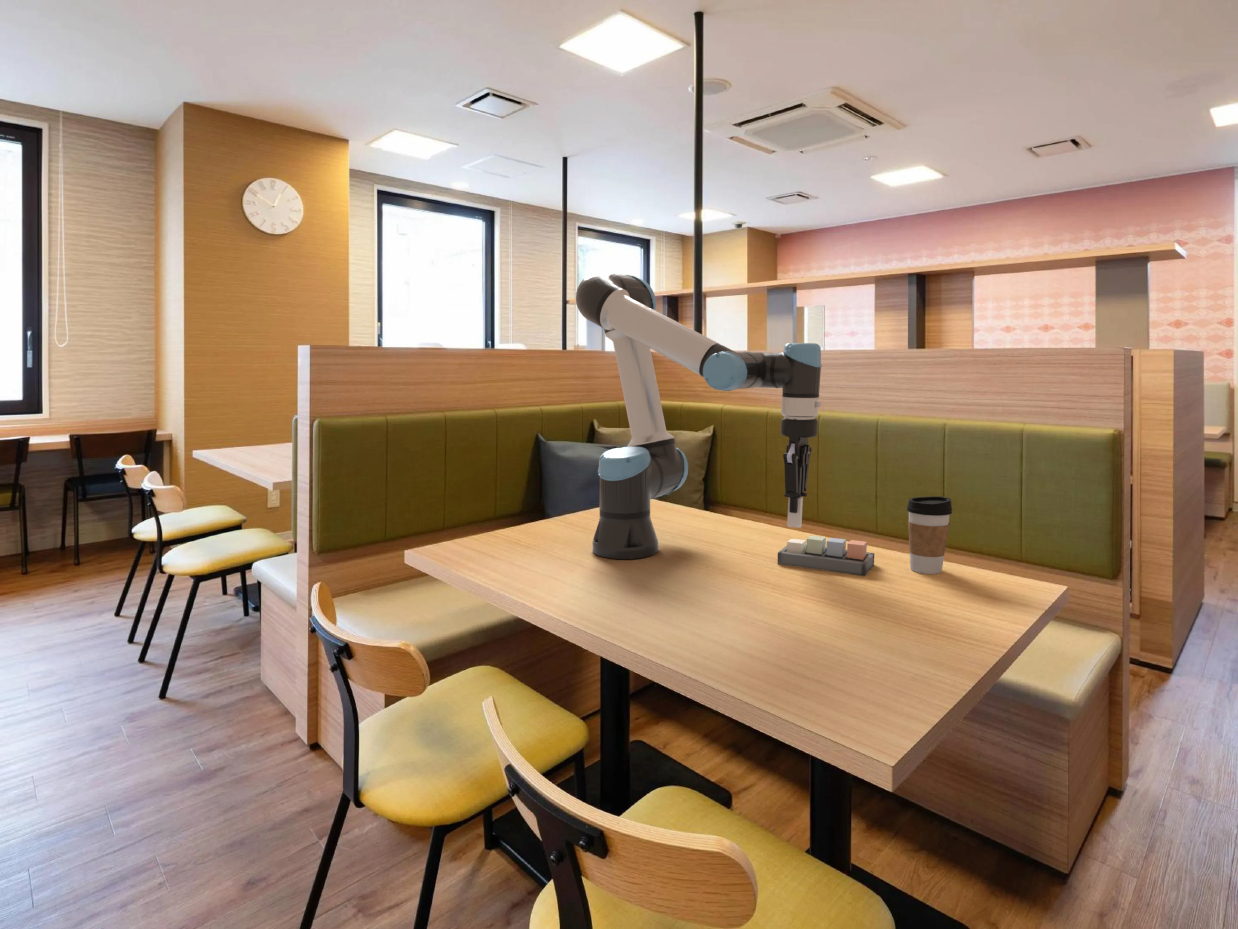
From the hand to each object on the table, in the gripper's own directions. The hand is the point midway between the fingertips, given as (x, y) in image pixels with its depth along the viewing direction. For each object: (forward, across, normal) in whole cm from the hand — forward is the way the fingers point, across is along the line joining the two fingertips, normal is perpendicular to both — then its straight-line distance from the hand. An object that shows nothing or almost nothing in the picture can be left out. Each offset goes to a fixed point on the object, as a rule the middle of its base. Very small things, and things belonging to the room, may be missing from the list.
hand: (794, 526), depth 150 cm
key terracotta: (+5, 0, -13) cm, 14 cm away
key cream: (+6, 0, -1) cm, 6 cm away
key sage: (+5, 0, -5) cm, 7 cm away
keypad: (+7, 0, -7) cm, 10 cm away
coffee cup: (+7, +5, -26) cm, 28 cm away
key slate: (+5, 0, -9) cm, 10 cm away
